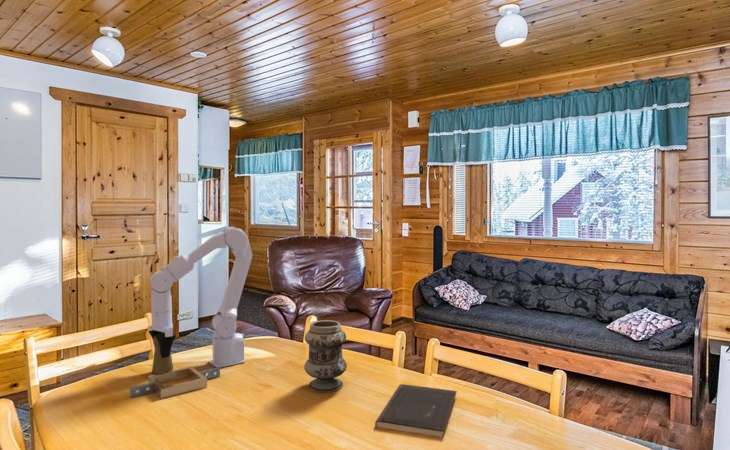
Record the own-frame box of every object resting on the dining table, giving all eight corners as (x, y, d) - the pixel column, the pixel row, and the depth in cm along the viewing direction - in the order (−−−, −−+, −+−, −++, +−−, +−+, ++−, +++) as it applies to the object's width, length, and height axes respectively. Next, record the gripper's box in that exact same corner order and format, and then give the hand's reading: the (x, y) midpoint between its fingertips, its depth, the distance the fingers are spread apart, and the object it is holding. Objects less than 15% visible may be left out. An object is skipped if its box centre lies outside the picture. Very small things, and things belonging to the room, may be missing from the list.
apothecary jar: (334, 374, 143) (334, 316, 142) (354, 388, 132) (354, 325, 132) (297, 383, 136) (297, 321, 135) (316, 397, 126) (315, 331, 125)
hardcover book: (456, 399, 127) (456, 390, 127) (443, 440, 105) (443, 430, 105) (398, 391, 132) (398, 383, 132) (375, 429, 110) (375, 419, 110)
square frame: (211, 370, 146) (211, 362, 146) (227, 382, 137) (227, 373, 136) (125, 389, 131) (124, 380, 131) (136, 404, 121) (136, 395, 121)
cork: (167, 373, 141) (167, 337, 141) (148, 373, 142) (147, 337, 141) (176, 366, 147) (176, 331, 147) (157, 366, 148) (157, 331, 147)
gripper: (141, 308, 147) (142, 351, 147) (154, 317, 135) (155, 364, 136) (164, 305, 151) (165, 347, 152) (179, 313, 140) (180, 358, 141)
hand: (162, 354), depth 144 cm, fingers closed on cork, 5 cm apart
